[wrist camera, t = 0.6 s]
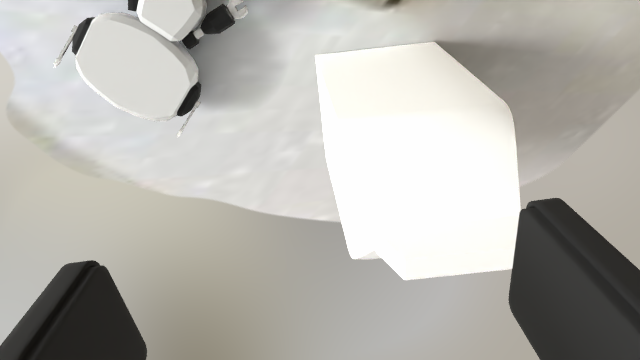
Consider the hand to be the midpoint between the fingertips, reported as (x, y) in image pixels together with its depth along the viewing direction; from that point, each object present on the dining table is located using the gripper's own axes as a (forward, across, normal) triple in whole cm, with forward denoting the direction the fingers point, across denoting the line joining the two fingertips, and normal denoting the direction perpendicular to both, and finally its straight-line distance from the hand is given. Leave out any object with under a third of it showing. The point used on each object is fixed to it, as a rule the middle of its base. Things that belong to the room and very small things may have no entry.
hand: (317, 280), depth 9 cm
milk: (+34, -7, +8) cm, 36 cm away
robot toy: (+34, +14, -2) cm, 37 cm away
